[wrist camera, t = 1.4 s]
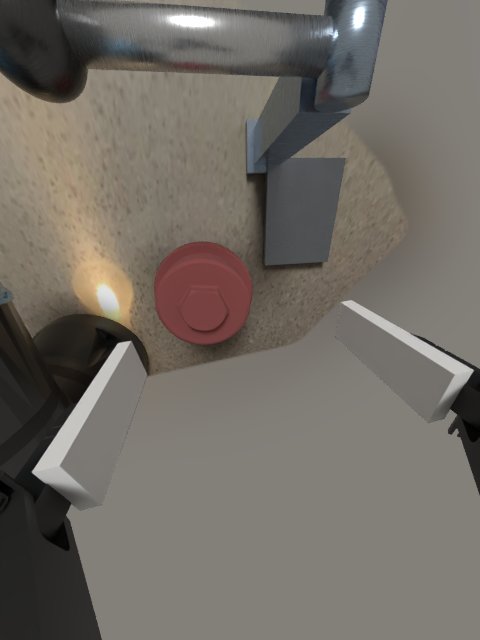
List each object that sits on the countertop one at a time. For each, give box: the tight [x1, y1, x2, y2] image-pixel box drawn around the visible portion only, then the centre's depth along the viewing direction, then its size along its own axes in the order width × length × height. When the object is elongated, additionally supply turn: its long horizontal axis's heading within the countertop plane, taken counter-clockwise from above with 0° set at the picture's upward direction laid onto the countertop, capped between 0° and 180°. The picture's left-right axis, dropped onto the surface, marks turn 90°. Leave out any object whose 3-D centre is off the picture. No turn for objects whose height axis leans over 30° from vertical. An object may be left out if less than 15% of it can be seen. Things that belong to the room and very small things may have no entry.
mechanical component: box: [154, 242, 252, 345], centre depth 22 cm, size 12×10×10 cm
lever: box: [0, 0, 388, 112], centre depth 8 cm, size 16×4×4 cm, turn 92°
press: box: [246, 77, 351, 265], centre depth 19 cm, size 11×15×14 cm
